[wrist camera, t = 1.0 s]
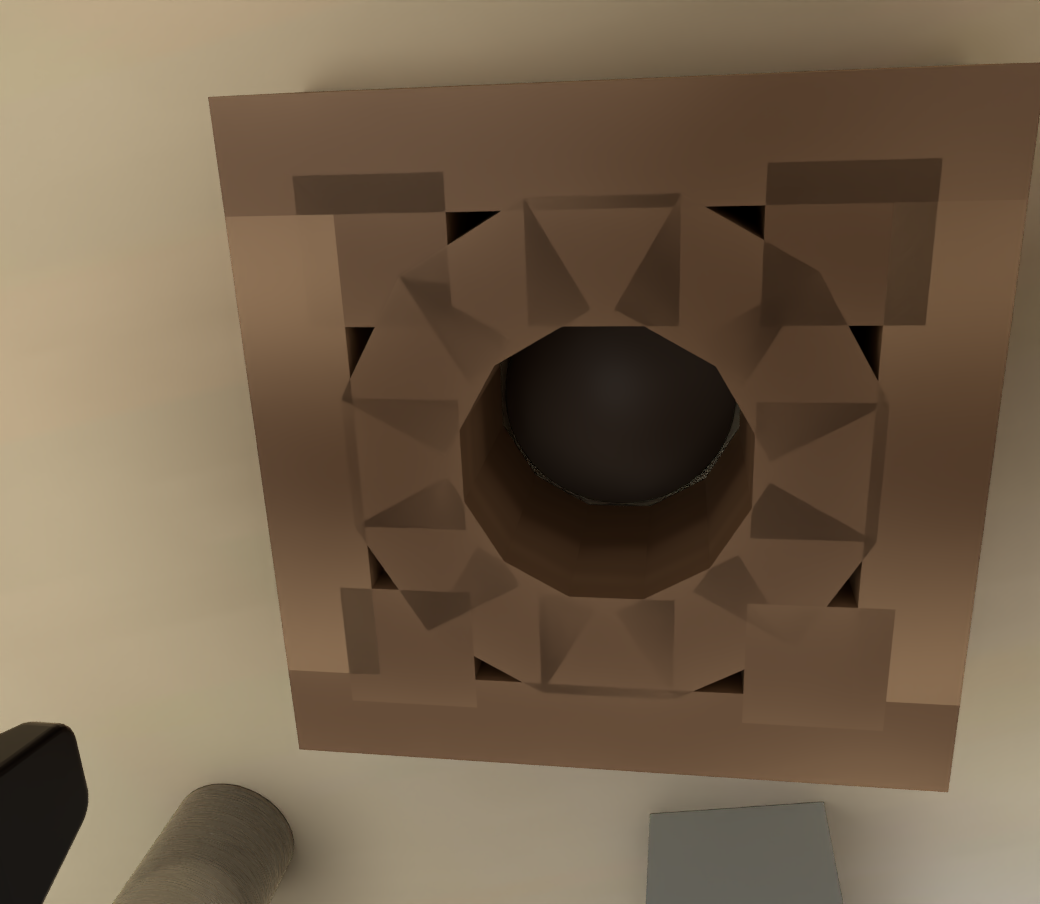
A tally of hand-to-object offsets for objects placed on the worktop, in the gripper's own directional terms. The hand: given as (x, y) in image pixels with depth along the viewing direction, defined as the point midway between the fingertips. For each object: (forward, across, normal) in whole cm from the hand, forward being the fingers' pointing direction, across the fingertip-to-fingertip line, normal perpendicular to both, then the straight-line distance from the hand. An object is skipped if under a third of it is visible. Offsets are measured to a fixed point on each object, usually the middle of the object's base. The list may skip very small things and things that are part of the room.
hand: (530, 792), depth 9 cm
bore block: (+12, 0, 0) cm, 12 cm away
